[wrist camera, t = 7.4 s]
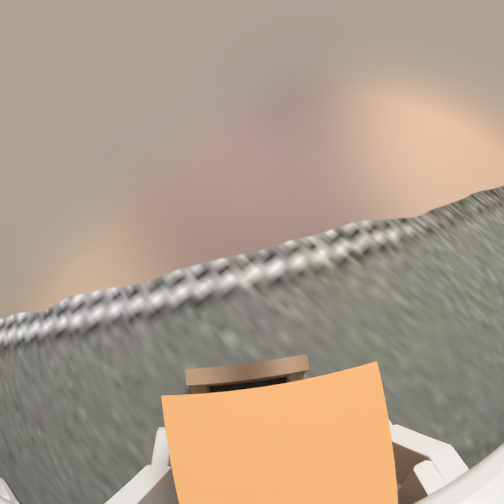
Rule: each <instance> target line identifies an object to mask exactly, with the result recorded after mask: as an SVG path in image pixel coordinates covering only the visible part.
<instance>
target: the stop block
mask: <svg viewBox="0 0 504 504" xmlns="http://www.w3.org/2000/svg"><path fill="white" fill-rule="evenodd" d="M162 406H163V414H164V422H165V429H166V436H167V443H168V449H169V455H170V461H171V467H172V472H173V477H174V482H175V487H176V492H177V496H178V501H179V504H398V493H397V481H396V471H395V461H394V453H393V446H392V438H391V432H390V425H389V419H388V413H387V408H386V402H385V397H384V392H383V387H382V382H381V377H380V372H379V368H378V363H377V361H376V362H373V363H369V364H366V365H362V366H359V367H355V368H351V369H347V370H343V371H339V372H335V373H331V374H327V375H323V376H318V377H313V378H309V379H304V380H299V381H294V382H288V383H283V384H277V385H271V386H264V387H258V388H250V389H243V390H234V391H225V392H215V393H203V394H189V395H167V396H162Z"/></svg>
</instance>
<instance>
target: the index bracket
mask: <svg viewBox="0 0 504 504" xmlns="http://www.w3.org/2000/svg"><path fill="white" fill-rule="evenodd" d="M308 370H310V369H309V364H308V359H307V354H303V355H298V356H292V357H286V358H280V359H274V360H268V361H261V362H254V363H246V364H238V365H229V366H220V367H209V368H198V369H185V376H186V386H190V387H191V394H203V393H211V391H210V387H214V386H225V385H234V384H242V383H250V382H258V381H264V380H271V379H277V378H283V377H286V381H287V383H288V382H294V381H299V380H304V379H307V377H306V371H308Z"/></svg>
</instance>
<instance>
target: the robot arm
mask: <svg viewBox="0 0 504 504" xmlns="http://www.w3.org/2000/svg"><path fill="white" fill-rule="evenodd" d="M389 425H390V432H391V438H392V446H393V453H394V461H395V471H396V481H397V483H398V484H400V485H401V487H400V488H399V490H398V491H397V493H398V504H504V443H503V444H501V445H500V446H499V447H498V448H497V449H495V450H494V451H493V452H492V453H491V454H489V455H488V456H487V457H486V458H484V459H483V460H482V461H480V462H479V463H478V464H476V465H475V466H474V467H472V468H471V469H468V467H467V466H466V465H465V463H464V462H463V461H462V459H461V458H460V457H459V455H458V454H457V452H456V451H455V450H454V448H453V447H452V446H451V445H449V444H446V443H444V442H441V441H438V440H435V439H433V438H430V437H427V436H425V435H422V434H420V433H417V432H415V431H412V430H410V429H407V428H405V427H402V426H400V425H398V424H396V425H392V423H391V422H390V420H389ZM0 504H20V503H19V502H18V501H17V499H16V498H15V496H14V494H13V493H12V491H11V490H10V488H9V486H8V485H7V484H6V482H5V481H4V480H3V479H2V478H0ZM105 504H179V501H178V496H177V492H176V487H175V482H174V477H173V472H172V467H171V461H170V455H169V449H168V443H167V436H166V429H165V427H159V428H158V430H157V433H156V439H155V445H154V451H153V457H152V463H151V465H146V466H145V467H144V468H143V469H142V470H141V471H140V472H139V473H138V474H137V475H136V476H135V477H134V478H133V479H132V480H131V481H129V482H128V483H127V484H126V485H125V486H124V487H123V488H122V489H121V490H120V491H118V492H117V493H116V494H115V495H114V496H113V497H112V498H111V499H109V500H108V501H107V502H106V503H105Z"/></svg>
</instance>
